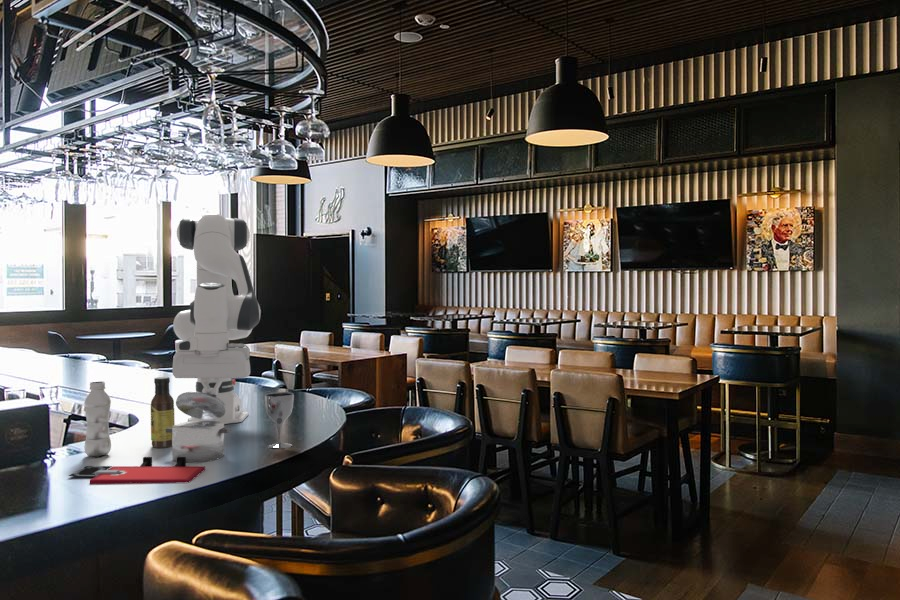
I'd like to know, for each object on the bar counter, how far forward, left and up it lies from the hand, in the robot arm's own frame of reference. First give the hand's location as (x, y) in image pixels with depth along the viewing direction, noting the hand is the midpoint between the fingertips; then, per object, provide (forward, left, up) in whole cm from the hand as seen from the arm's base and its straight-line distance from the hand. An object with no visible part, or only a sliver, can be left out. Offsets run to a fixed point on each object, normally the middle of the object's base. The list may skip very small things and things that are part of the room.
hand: (211, 394), depth 175 cm
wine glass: (-14, +14, -17) cm, 26 cm away
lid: (-2, -4, -4) cm, 6 cm away
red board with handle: (+17, -11, -17) cm, 27 cm away
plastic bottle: (-1, -32, -17) cm, 36 cm away
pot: (-1, -4, -17) cm, 17 cm away
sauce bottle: (-13, -20, -17) cm, 29 cm away
